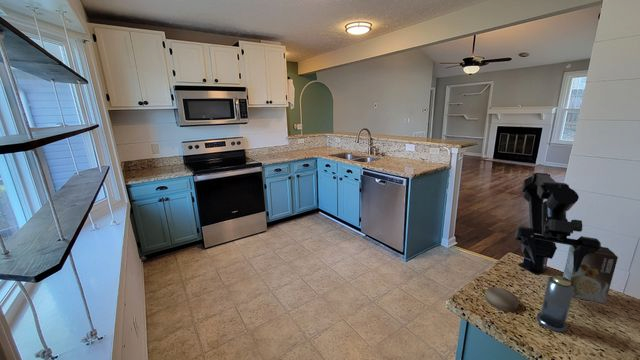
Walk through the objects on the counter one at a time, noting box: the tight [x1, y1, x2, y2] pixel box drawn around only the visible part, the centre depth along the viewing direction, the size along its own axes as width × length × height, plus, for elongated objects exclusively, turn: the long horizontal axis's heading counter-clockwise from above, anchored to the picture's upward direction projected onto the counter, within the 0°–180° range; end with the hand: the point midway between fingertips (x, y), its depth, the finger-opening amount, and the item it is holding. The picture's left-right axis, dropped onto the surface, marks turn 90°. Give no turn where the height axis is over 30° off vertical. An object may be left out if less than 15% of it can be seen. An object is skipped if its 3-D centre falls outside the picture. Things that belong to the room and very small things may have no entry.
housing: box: [536, 275, 575, 333], centre depth 72 cm, size 6×6×14 cm
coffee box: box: [562, 245, 619, 304], centre depth 83 cm, size 9×6×16 cm
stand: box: [484, 286, 519, 312], centre depth 82 cm, size 8×8×2 cm
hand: (554, 267), depth 77 cm, fingers open, 9 cm apart
